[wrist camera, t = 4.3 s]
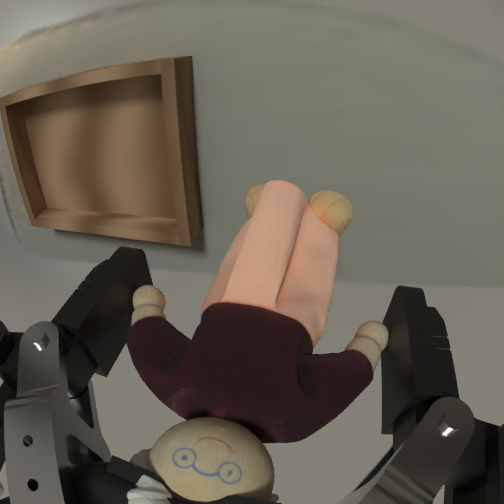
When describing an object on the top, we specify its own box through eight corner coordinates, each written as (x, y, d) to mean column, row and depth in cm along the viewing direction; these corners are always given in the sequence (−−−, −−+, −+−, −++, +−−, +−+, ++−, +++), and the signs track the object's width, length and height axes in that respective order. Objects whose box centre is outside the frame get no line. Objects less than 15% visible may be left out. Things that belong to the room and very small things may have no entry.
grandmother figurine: (377, 168, 11) (413, 608, 1) (374, 250, 13) (367, 585, 4) (189, 178, 13) (-17, 463, 3) (209, 251, 15) (81, 513, 6)
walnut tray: (191, 56, 16) (173, 58, 14) (202, 226, 23) (191, 246, 21) (19, 90, 18) (-2, 98, 16) (48, 211, 26) (32, 226, 24)
